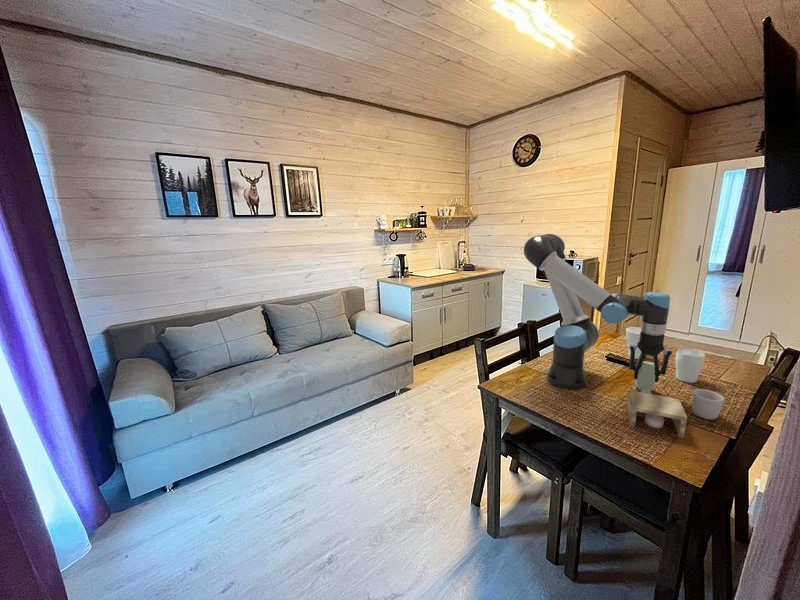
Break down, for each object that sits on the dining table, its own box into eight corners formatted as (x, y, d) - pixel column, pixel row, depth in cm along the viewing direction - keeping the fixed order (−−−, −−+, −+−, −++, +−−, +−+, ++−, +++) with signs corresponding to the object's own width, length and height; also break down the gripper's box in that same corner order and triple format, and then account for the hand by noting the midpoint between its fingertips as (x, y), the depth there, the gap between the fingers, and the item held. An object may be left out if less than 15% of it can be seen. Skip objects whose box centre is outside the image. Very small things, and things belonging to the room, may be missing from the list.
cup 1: (617, 354, 167) (620, 328, 164) (633, 351, 170) (636, 326, 167) (637, 362, 158) (641, 335, 154) (654, 359, 161) (658, 332, 157)
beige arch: (630, 426, 113) (632, 406, 111) (627, 408, 123) (629, 390, 121) (683, 437, 106) (687, 417, 104) (675, 417, 116) (679, 398, 114)
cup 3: (689, 403, 124) (692, 383, 122) (718, 410, 119) (722, 389, 117) (689, 417, 116) (693, 396, 114) (721, 425, 111) (725, 403, 109)
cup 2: (705, 384, 136) (711, 357, 133) (680, 383, 138) (684, 356, 135) (691, 374, 145) (696, 348, 142) (667, 373, 146) (671, 347, 143)
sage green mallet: (643, 411, 120) (648, 383, 117) (637, 385, 138) (641, 360, 135) (657, 414, 118) (662, 386, 115) (649, 387, 136) (653, 362, 133)
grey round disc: (645, 426, 113) (646, 419, 112) (643, 418, 117) (644, 412, 116) (664, 430, 110) (665, 423, 110) (661, 421, 115) (662, 415, 114)
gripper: (626, 332, 130) (619, 387, 136) (683, 338, 122) (673, 396, 128) (625, 326, 137) (618, 379, 142) (678, 332, 128) (669, 387, 134)
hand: (644, 387), depth 135 cm, fingers closed on sage green mallet, 4 cm apart
